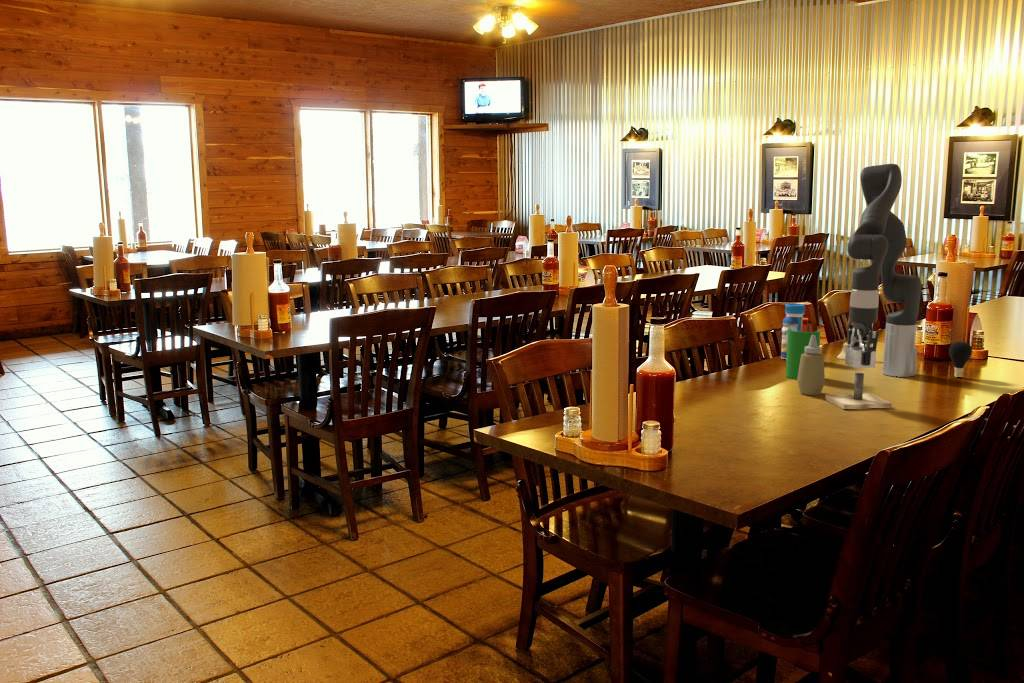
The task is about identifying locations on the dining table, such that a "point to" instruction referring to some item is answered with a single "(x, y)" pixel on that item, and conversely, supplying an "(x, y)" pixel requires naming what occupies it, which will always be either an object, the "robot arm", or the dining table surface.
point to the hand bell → (844, 347)
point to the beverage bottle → (791, 323)
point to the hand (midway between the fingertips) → (860, 362)
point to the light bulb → (960, 356)
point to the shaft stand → (858, 397)
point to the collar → (858, 357)
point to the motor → (798, 347)
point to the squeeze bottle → (811, 369)
